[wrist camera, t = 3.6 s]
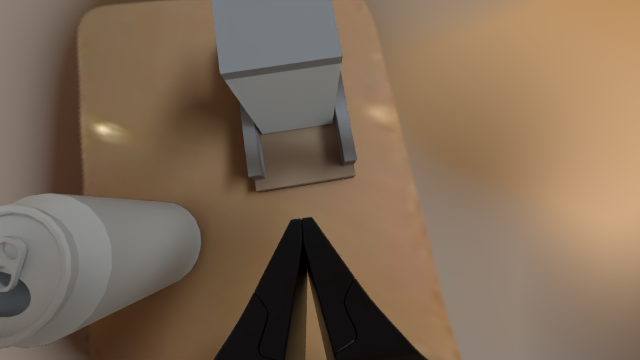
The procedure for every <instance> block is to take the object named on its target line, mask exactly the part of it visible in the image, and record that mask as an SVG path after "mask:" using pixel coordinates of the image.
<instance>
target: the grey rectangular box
mask: <svg viewBox="0 0 640 360" xmlns="http://www.w3.org/2000/svg"><path fill="white" fill-rule="evenodd" d="M212 9H213V17H214V26H215V35H216V44H217V53H218V61H219V70H220V75H221V76H222V78H223V79H224V80H225V82H226V83H227V85H228V86H229V87H230V89H231V90H232V92H233V93H234V95H235V96H236V97H237V99H238V100H239V102H240V103H241V104H242V106H243V107H244V109H245V110H246V111H247V113H248V114H249V116H250V117H251V119H252V120H253V121H254V123H255V124H256V126H257V127H258V128H259V130H260V131H261V133H262V134H268V133H274V132H281V131H287V130H294V129H300V128H307V127H313V126H320V125H326V124H332V122H333V115H334V108H335V102H336V95H337V89H338V82H339V75H340V69H341V62H342V51H341V46H340V41H339V35H338V30H337V25H336V20H335V14H334V9H333V4H332V0H212Z"/></svg>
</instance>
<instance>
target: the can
mask: <svg viewBox="0 0 640 360" xmlns="http://www.w3.org/2000/svg"><path fill="white" fill-rule="evenodd" d="M200 248H201V235H200V229H199V227H198V225H197V222H196V220H195V218H194V217H193V216H192V215H191V214H190V213H189V212H188V211H187V210H186V209H184V208H183V207H181V206H179V205H177V204H174V203H168V202H161V201H147V200H134V199H120V198H107V197H93V196H80V195H65V194H52V193H47V194H41V195H34V196H27V197H24V198H22V199H20V200H18V201H16V202H13V203H11V204H9V205H4V206H0V348H7V347H11V346H16V347H21V348H28V347H34V346H40V345H47V344H50V343H52V342H54V341H57V340H59V339H61V338H63V337H65V336H67V335H69V334H71V333H73V332H75V331H77V330H79V329H81V328H83V327H85V326H87V325H89V324H91V323H94V322H96V321H98V320H100V319H102V318H104V317H106V316H108V315H110V314H112V313H114V312H116V311H118V310H120V309H122V308H124V307H126V306H129V305H131V304H133V303H135V302H137V301H139V300H141V299H143V298H145V297H147V296H149V295H151V294H153V293H155V292H157V291H159V290H161V289H163V288H166V287H168V286H170V285H172V284H174V283H176V282H178V281H180V280H181V279H182V278H183V277H184V276H185V275H186V274H188V273H189V272H190V271H191V270H192V268H193V266H194V264H195V262H196V261H197V259H198V257H199V252H200Z"/></svg>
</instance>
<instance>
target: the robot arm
mask: <svg viewBox="0 0 640 360" xmlns="http://www.w3.org/2000/svg"><path fill="white" fill-rule="evenodd" d="M307 271H308V276H309V281H310V286H311V290H312V295H313V299H314V304H315V308H316V313H317V317H318V322H319V326H320V331H321V335H322V339H323V344H324V348H325V353H326V357H327V360H428V359H427V358H425V357H424V356H423V355H422V354H421V353H420V352H419V351H418V350H417V349H416V348H415V347H414V346H413V345H412V344H411V343H410V342H409V341H408V340H407V339H406V338H405V337H404V335H403V334H402V333H401V332H400V331H399V330H398V329H397V328H396V327H395V326H394V324H393V323H392V322H391V321H390V320H389V319H388V318H387V317H386V316H385V315H384V314H383V312H382V311H381V310H380V309H379V308H378V307H377V305H376V304H375V303H374V302H373V301H372V300H371V298H370V297H369V296H368V295H367V293H366V292H365V291H364V289H363V288H362V287H361V285H360V284H359V282H358V281H357V280H356V279H355V277H354V276H353V274H352V273H351V271H350V270H349V268H348V267H347V266H346V264H345V263H344V261H343V260H342V259H341V257H340V256H339V254H338V253H337V252H336V250H335V249H334V247H333V246H332V245H331V243H330V242H329V240H328V239H327V237H326V236H325V235H324V233H323V232H322V230H321V229H320V228H319V226H318V225H317V223H316V222H315V221H314V219H313V218H312V217H308V218H303V219H302V220H301V219H292V220H291V221H290V223H289V225H288V227H287V229H286V231H285V232H284V234H283V236H282V238H281V240H280V242H279V244H278V246H277V248H276V250H275V252H274V254H273V256H272V258H271V260H270V262H269V264H268V266H267V268H266V270H265V272H264V274H263V276H262V278H261V279H260V281H259V283H258V285H257V287H256V289H255V293H253V295H252V297H251V299H250V301H249V303H248V305H247V306H246V308H245V310H244V312H243V314H242V316H241V317H240V319H239V321H238V322H237V324H236V326H235V327H234V329H233V330H232V332H231V334H230V335H229V337H228V338H227V340H226V341H225V343H224V344H223V346H222V348H221V349H220V351H219V352H218V354H217V355H216V357H215V358H214V360H305V347H306V312H307Z"/></svg>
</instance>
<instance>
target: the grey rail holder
mask: <svg viewBox="0 0 640 360" xmlns="http://www.w3.org/2000/svg"><path fill="white" fill-rule="evenodd" d="M239 105H240V113H241V121H242V129H243V138H244V146H245V154H246V162H247V170H248V177H250V178H252V179H254V180H255V186H256V191H257V192H266V191H273V190H279V189H285V188H291V187H298V186H304V185H310V184H316V183H323V182H329V181H335V180H341V179H348V178H353V177H354V176H355V170H354V165H353V164H354V163H355V162H356V160H357V157H356V152H355V147H354V141H353V136H352V130H351V125H350V120H349V114H348V109H347V104H346V98H345V93H344V87H343V82H342V77H341V71H340V75H339V82H338V89H337V95H336V102H335V108H334V115H333V122H332V124H326V125H320V126H313V127H307V128H300V129H294V130H287V131H281V132H274V133H268V134H262V133H261V131H260V130H259V128H258V127H257V126H256V124H255V123H254V121H253V120H252V119H251V117H250V116H249V114H248V113H247V111H246V110H245V109H244V107H243V106H242V104H241V103H240V102H239Z"/></svg>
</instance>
